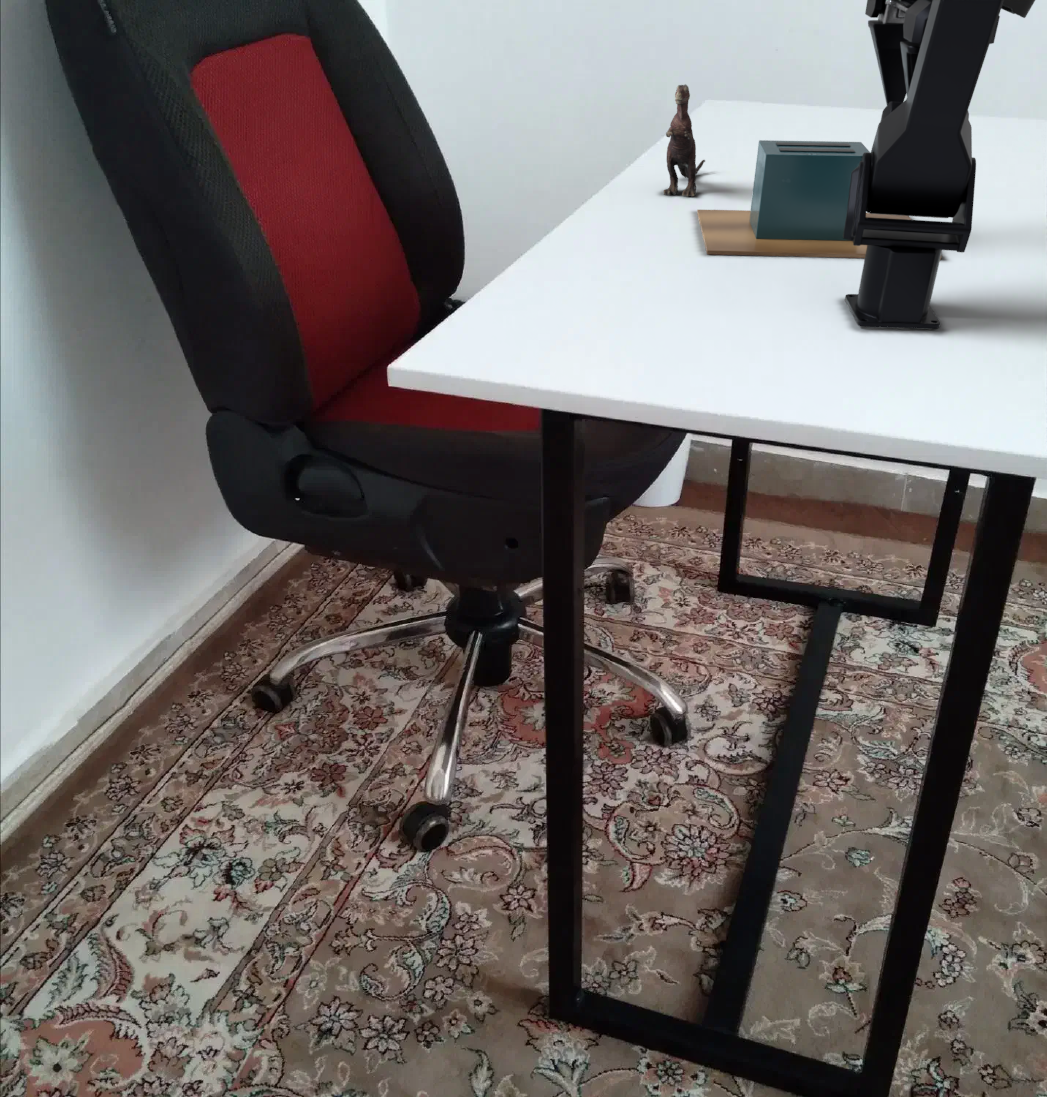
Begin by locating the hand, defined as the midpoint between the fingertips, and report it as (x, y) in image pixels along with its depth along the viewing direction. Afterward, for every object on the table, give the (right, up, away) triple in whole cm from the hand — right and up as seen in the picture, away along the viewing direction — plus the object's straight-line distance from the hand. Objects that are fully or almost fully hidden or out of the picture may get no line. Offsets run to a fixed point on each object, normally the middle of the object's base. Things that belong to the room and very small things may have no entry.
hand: (905, 120), depth 90 cm
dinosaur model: (-15, +4, +30) cm, 33 cm away
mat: (-4, -6, +14) cm, 16 cm away
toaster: (-5, -5, +14) cm, 16 cm away
